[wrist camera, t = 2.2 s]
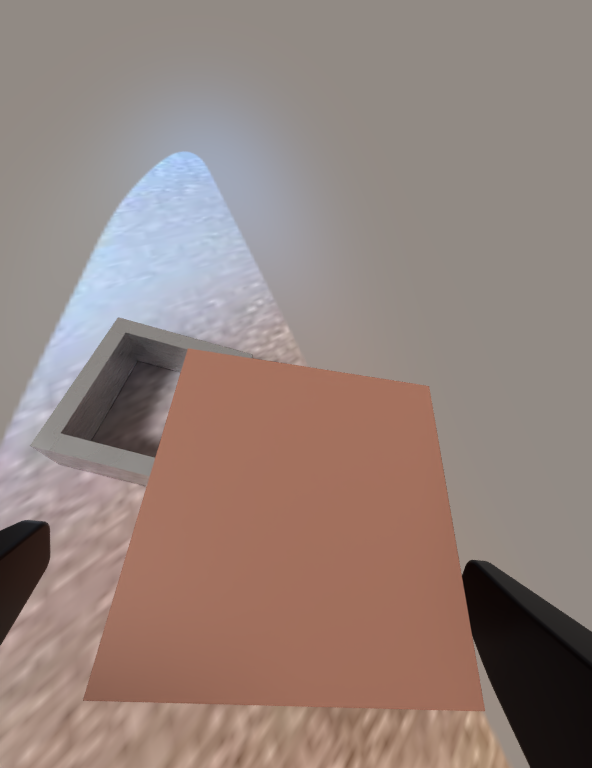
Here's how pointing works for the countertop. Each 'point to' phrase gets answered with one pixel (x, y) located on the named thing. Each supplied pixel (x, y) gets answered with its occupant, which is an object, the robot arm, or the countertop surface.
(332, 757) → the countertop surface
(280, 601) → the salmon brown rectangular block
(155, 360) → the gray square planter
